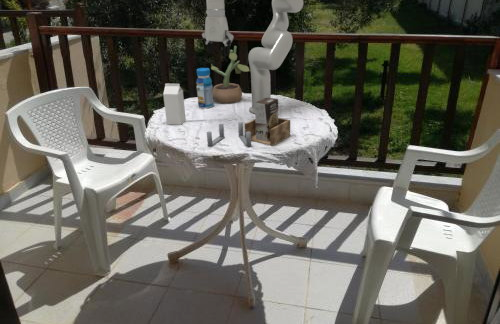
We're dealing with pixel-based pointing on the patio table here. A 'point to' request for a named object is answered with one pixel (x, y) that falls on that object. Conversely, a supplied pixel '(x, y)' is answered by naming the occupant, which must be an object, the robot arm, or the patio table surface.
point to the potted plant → (228, 90)
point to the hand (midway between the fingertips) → (218, 54)
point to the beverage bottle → (204, 88)
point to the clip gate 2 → (248, 136)
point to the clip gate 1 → (221, 133)
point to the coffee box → (266, 117)
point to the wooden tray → (275, 133)
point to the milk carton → (174, 104)
